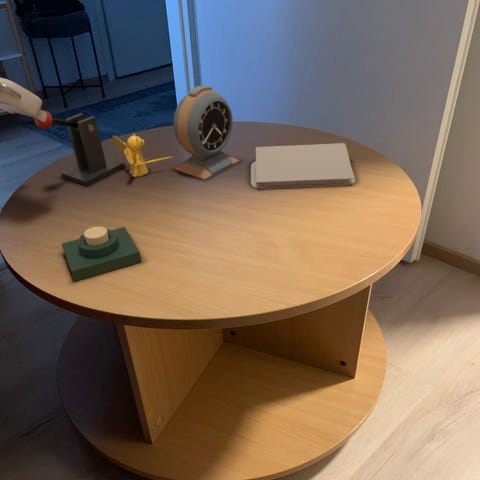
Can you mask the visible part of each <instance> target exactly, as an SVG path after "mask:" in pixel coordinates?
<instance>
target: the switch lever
mask: <svg viewBox="0 0 480 480" xmlns="http://www.w3.org/2000/svg"><path fill="white" fill-rule="evenodd" d="M42 111H43V112H45V113H46V114H47V118H46V120H45V122H42V121H39V120H37V119H35V118H34V117H33V119H34V123H35V125H36V126H37V127H38V128H40V129H42V130H46V129H50V128H51V127H52V126H53V125H56V126H63V127H67V126H69V127H74V130H75V131H79V128H78V124H77V122H79V121H82V120H78V119H75V121H74V122H70V121H66V120H63V119H58V118H53V116H52V115H51V113H50V112H48V111H47V110H42Z"/></svg>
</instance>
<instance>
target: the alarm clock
mask: <svg viewBox="0 0 480 480" xmlns="http://www.w3.org/2000/svg"><path fill="white" fill-rule="evenodd" d="M233 119H234V118H233V112H232V110H231V105H229V103H228V101H227V100H226V98H225V97H223V96H222V95H221V94H220V93H219V92H217V91H216V90H213V87H212V86H209V85H198V86H197V85H196V86H195V87H194V88H192V89H191V90H189V92H187V94H185V95H184V96H183V97H182V98H181V100H179V102H178V104H177V106H176V108H175V111H174V115H173V132H174V135H175V138H176V140H177V142H178V144H179V145H180V146H181V147H182V148H183V150H185V152H187V153H188V154H190V155H191V156H190V157H189V158H187V159H186V160H184V161H183V162H182V163H181V164H180V165H178V166H177V167H175V168H174V170H175V171H177V172H179V173H184V174H186V175H189V176H192V177H195V178H198V179H200V180H204V181H206V180H207V179H209V178H211V177H213V176H215V175H216V174H219V173H220V172H222V171H224V170H226V169H228V168H230V167H232V166H233V165H236V164H237V163H240V161H241V160H240V159H238V158H236V157H233V156H231V155H229V154H226V152H224V151H222V150H223V149H224V148H225V146H226V145H227V143H228V141H229V140H230V137H231V134H232V129H233V121H234V120H233Z"/></svg>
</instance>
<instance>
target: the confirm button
mask: <svg viewBox="0 0 480 480" xmlns="http://www.w3.org/2000/svg"><path fill="white" fill-rule="evenodd" d="M107 229H108V228H106V227H104V226H93V227H89V228H88V229H86V230H85V231H84V233H83V234H84V236H85V240H86V243H87V245H89V246H98V245H102V244H105V243H106V242H108V241H109V236H108V232H107Z"/></svg>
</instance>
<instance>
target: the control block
mask: <svg viewBox="0 0 480 480" xmlns="http://www.w3.org/2000/svg"><path fill="white" fill-rule="evenodd" d="M106 229H107V232H108V236H109V241H108V242H106V243H105V244H102V245H98V246H89V245H87V243H86V240H85V236H84V233H83V234H82V235H80V236H79V238H77V239H73V240H69V241H66V242H61V247H62V250H63V254H64V256H65V258H66V261H67V264H68V266H69V269H70V272H71V274H72V277H73V280H74V282H78V281H80V280H84V279H88V278H92V277H94V276H98V275H102V274H104V273H108V272H111V271H115V270H118V269H122V268H125V267H129V266H132V265H135V264H139V263H142V261H143V260H142V256H141V253H140V250H139V248H138V247H137V245H136V243H135V241H134V240H133V238H132V236H131V235H130V233H129V231H128V230H127V228H126V226H123V227H118V228H114V229H110V228H106Z"/></svg>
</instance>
